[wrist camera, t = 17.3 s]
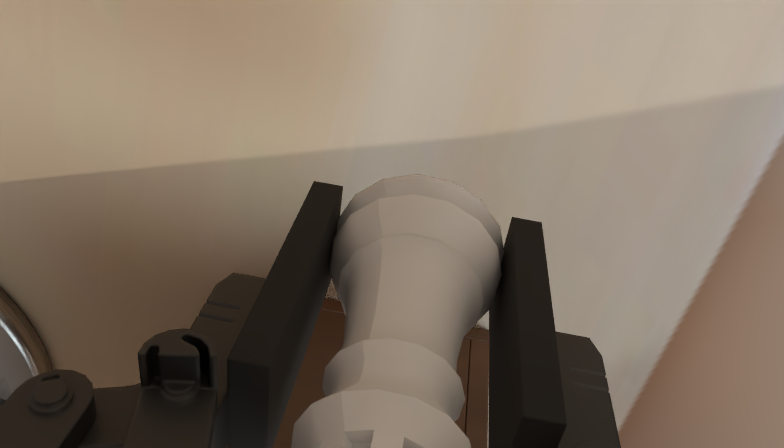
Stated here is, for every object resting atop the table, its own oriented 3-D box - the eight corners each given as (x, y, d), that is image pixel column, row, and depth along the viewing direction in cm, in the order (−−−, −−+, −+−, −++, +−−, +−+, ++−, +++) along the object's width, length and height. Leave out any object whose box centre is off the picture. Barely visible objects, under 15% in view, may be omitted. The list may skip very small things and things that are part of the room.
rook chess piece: (309, 195, 17) (189, 438, 10) (469, 141, 16) (450, 381, 9) (379, 321, 19) (316, 594, 12) (526, 283, 18) (547, 567, 11)
